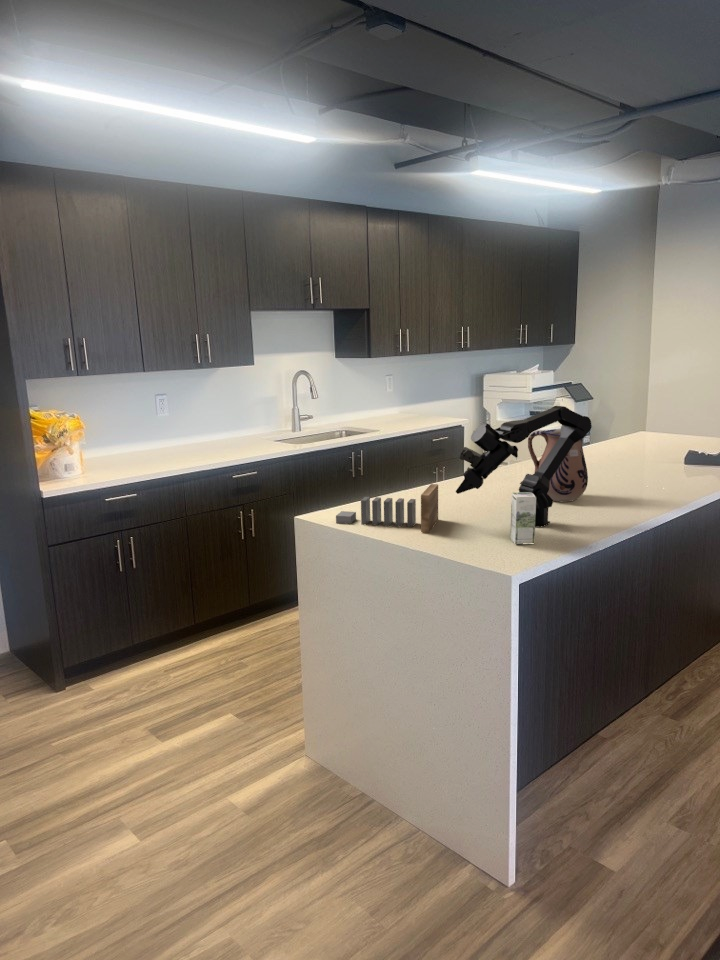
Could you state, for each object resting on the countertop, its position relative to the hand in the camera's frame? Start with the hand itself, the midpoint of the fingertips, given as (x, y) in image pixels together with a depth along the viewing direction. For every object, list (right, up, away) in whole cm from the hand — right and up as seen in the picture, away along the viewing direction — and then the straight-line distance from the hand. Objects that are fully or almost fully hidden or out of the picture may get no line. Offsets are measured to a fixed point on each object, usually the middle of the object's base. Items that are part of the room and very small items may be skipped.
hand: (457, 491), depth 216 cm
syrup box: (+17, -15, -14) cm, 26 cm away
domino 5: (-14, -11, +7) cm, 19 cm away
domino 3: (-21, -11, +9) cm, 25 cm away
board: (-8, -11, +5) cm, 15 cm away
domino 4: (-17, -11, +8) cm, 22 cm away
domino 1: (-28, -10, +11) cm, 32 cm away
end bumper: (-35, -10, +13) cm, 39 cm away
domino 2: (-25, -10, +10) cm, 29 cm away
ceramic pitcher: (+41, -4, +36) cm, 54 cm away
